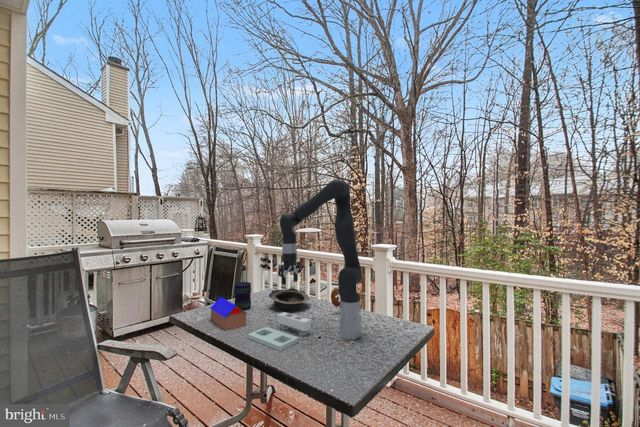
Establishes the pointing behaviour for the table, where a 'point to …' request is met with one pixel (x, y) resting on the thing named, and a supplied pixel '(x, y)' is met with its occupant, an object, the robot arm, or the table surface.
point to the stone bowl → (288, 299)
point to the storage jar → (243, 295)
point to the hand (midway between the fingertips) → (289, 283)
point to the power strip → (294, 322)
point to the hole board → (273, 338)
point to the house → (227, 314)
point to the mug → (333, 298)
